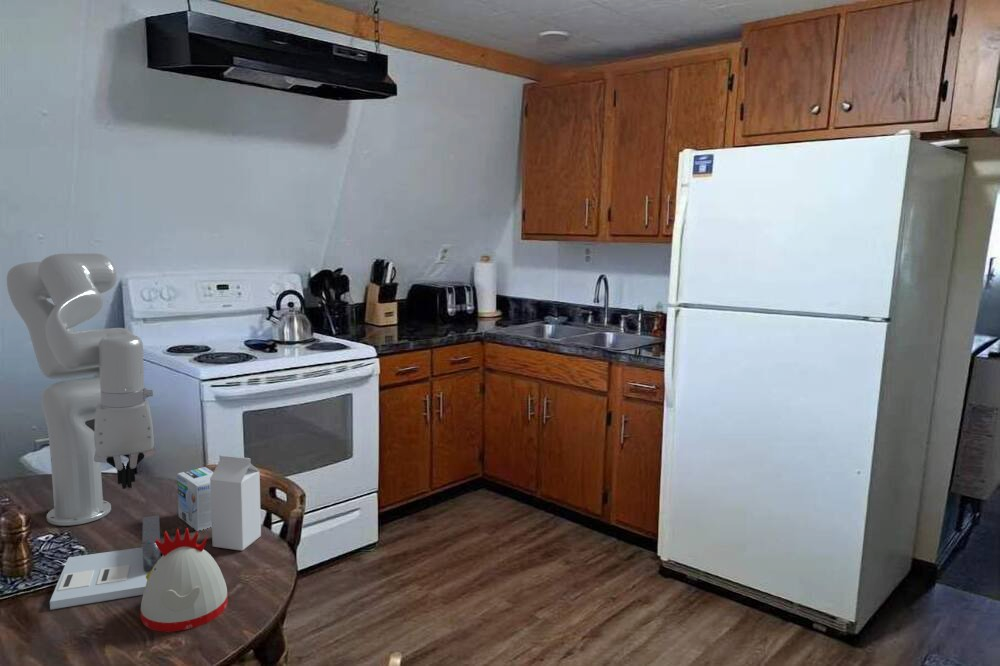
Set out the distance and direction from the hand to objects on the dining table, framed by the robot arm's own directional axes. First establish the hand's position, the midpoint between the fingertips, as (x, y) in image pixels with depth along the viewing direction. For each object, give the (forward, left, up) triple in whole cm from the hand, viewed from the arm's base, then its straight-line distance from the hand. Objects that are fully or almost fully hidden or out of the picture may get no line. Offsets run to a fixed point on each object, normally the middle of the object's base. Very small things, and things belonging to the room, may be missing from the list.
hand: (126, 485), depth 136 cm
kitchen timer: (+25, +11, -15) cm, 31 cm away
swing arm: (+5, +4, -13) cm, 15 cm away
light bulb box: (-13, +13, -15) cm, 24 cm away
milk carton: (+1, +20, -15) cm, 25 cm away
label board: (+9, -3, -15) cm, 18 cm away
